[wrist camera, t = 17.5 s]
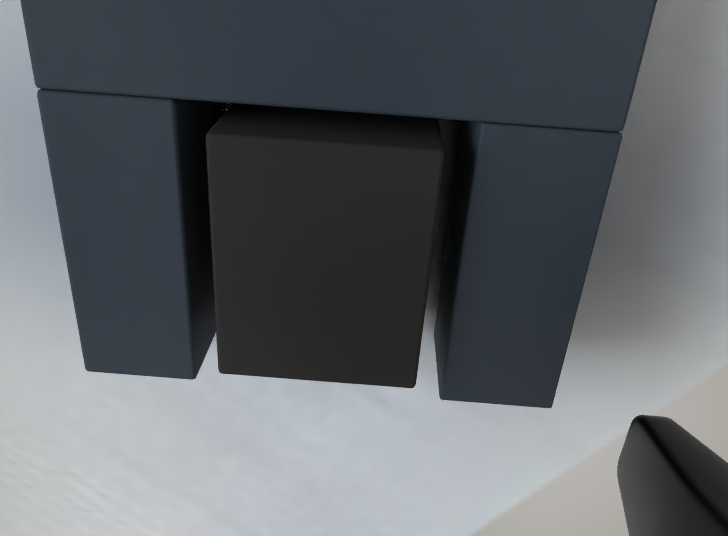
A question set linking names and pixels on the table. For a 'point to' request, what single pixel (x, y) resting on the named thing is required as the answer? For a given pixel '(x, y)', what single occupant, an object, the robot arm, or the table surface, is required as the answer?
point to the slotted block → (348, 94)
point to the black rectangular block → (322, 241)
